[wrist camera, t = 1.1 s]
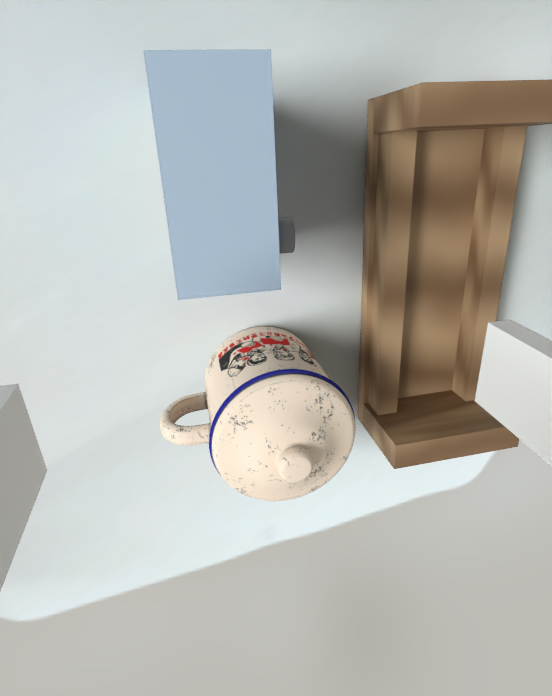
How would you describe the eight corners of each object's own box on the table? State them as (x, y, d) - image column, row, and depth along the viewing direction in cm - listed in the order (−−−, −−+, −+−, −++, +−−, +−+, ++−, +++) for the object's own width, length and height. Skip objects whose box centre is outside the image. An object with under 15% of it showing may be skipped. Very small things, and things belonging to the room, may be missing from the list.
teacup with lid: (316, 316, 34) (381, 386, 23) (315, 418, 37) (370, 519, 27) (154, 331, 32) (144, 416, 21) (169, 438, 35) (167, 557, 25)
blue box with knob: (156, 96, 26) (143, 50, 15) (248, 94, 27) (297, 49, 16) (176, 249, 30) (178, 299, 19) (257, 242, 31) (302, 287, 20)
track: (368, 100, 29) (422, 82, 22) (505, 95, 30) (592, 78, 24) (357, 418, 38) (394, 468, 32) (463, 401, 40) (517, 446, 34)
